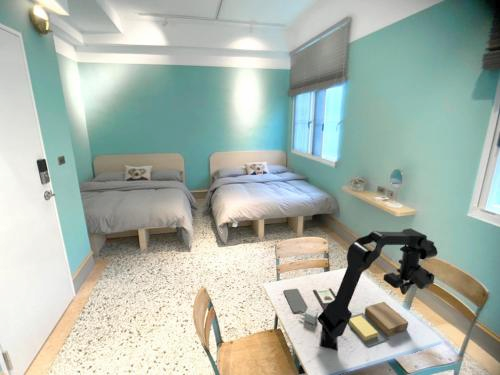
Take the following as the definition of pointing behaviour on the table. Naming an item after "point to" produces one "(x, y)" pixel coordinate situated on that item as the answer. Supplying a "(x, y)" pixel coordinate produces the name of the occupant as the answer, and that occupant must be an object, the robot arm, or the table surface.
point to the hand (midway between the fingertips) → (403, 293)
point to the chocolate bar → (324, 296)
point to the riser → (386, 319)
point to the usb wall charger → (310, 315)
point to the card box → (363, 328)
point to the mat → (380, 336)
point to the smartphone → (295, 300)
